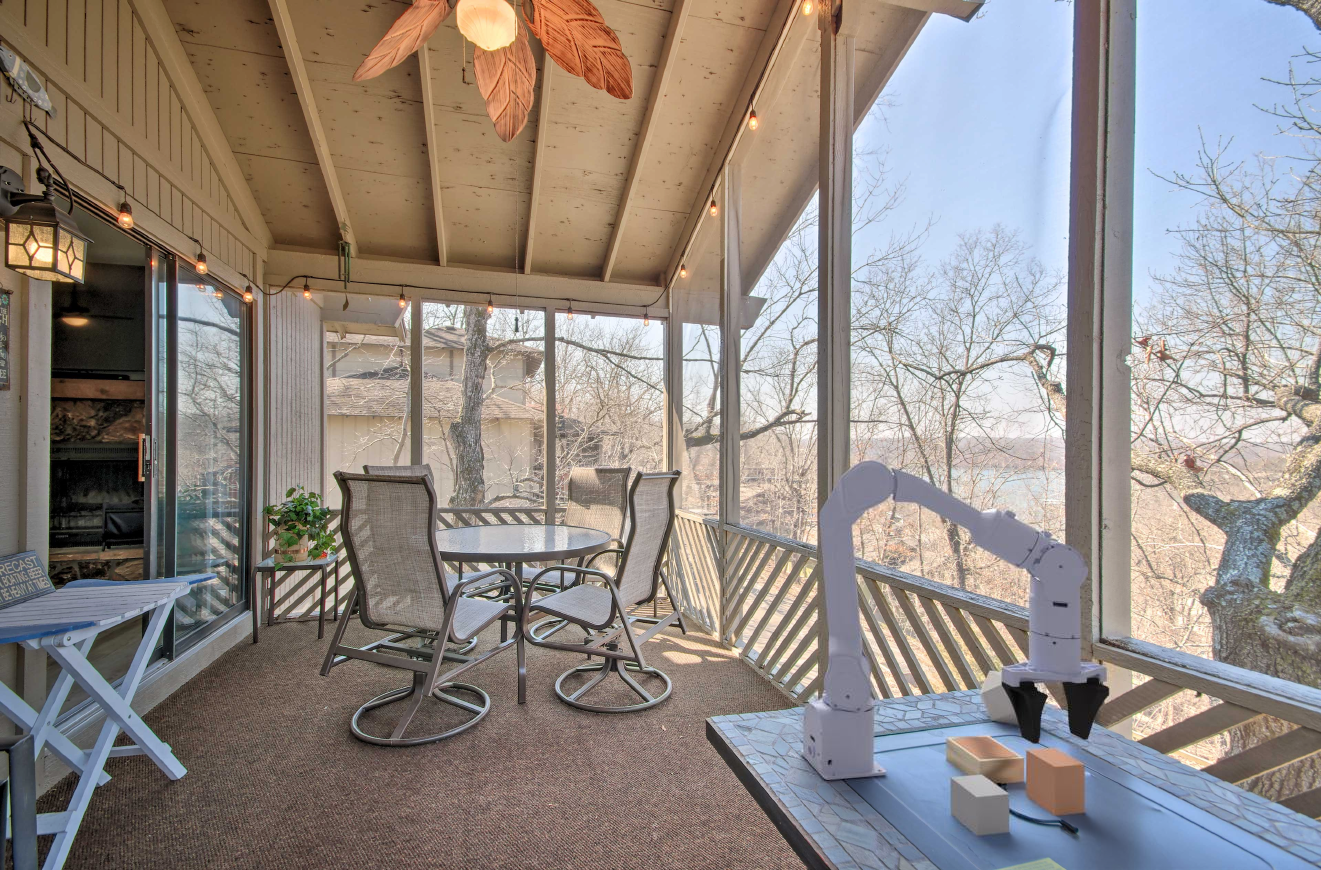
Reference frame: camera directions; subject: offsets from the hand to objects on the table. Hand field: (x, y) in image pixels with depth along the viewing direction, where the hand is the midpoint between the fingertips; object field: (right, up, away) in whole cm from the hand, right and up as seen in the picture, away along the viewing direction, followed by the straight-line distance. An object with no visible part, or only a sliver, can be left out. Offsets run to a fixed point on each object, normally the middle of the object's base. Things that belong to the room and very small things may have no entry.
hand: (1054, 738), depth 78 cm
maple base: (-5, -9, +8) cm, 13 cm away
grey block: (-13, -8, -5) cm, 16 cm away
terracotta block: (0, -8, 0) cm, 8 cm away
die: (+9, -10, +25) cm, 29 cm away
